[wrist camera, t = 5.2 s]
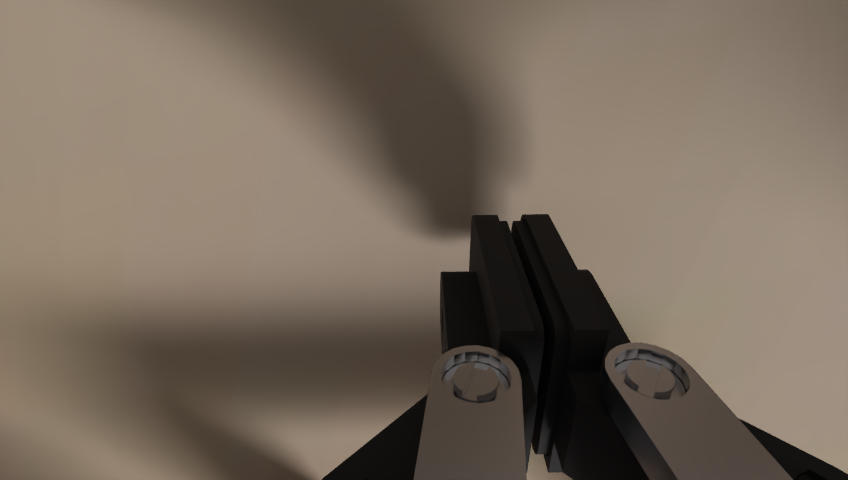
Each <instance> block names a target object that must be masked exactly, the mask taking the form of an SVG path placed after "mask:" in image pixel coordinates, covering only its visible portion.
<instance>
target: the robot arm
mask: <svg viewBox="0 0 848 480" xmlns="http://www.w3.org/2000/svg"><path fill="white" fill-rule="evenodd" d="M440 322H441V343H442V355H441V357H440V358H439V359H438V360H437V361H436V362H435V364H434V367H433V369H432V372H431V378H430V384H429V390H428V394H427V395H426V396H425V397H424V398H422V399H421V400H420V401H419V402H417V403H416V404H415V405H414V406H412V407H411V408H410V409H409V410H407V411H406V412H405V413H404V414H402V415H401V416H400V417H399V418H397V419H396V420H395V421H394V422H392V423H391V424H390V425H389V426H387V427H386V428H385V429H384V430H382V431H381V432H380V433H379V434H377V435H376V436H375V437H374V438H372V439H371V440H370V441H369V442H368V443H366V444H365V445H364V446H363V447H361V448H360V449H359V450H358V451H356V452H355V453H354V454H353V455H351V456H350V457H349V458H348V459H346V460H345V461H344V462H343V463H341V464H340V465H339V466H338V467H336V468H335V469H334V470H333V471H331V472H330V473H329V474H328V475H326V476H325V477H324V478H323V479H322V480H527V477H526V473H527V468H528V462H529V455H530V448H531V442H532V447H533V450H534V452H535V454H544V458H545V461H546V465H547V469H548V472H564V473H565V474H566V475H568V476H569V477H571V478H572V479H573V480H848V474H846V473H844V472H843V471H841V470H839V469H838V468H836V467H834V466H832V465H830V464H828V463H826V462H824V461H822V460H820V459H818V458H816V457H814V456H812V455H810V454H808V453H806V452H804V451H802V450H800V449H798V448H796V447H794V446H792V445H790V444H788V443H786V442H784V441H782V440H780V439H778V438H776V437H775V436H773V435H771V434H769V433H767V432H765V431H763V430H761V429H759V428H757V427H755V426H753V425H751V424H749V423H747V422H745V421H743V420H741V419H739V418H737V417H736V415H735V414H734V413H733V412H732V411H731V410H730V409H729V408H728V406H727V405H726V404H725V403H724V402H723V401H722V400H721V399H720V398H719V396H718V395H717V394H716V393H715V392H714V391H713V390H712V389H711V388H710V386H709V385H708V384H707V383H706V382H705V381H704V380H703V379H702V378H701V376H700V375H699V374H698V373H697V372H696V371H695V370H694V369H693V368H692V367H691V366H690V365H689V364H688V363H687V362H686V361H685V360H683V359H682V358H681V357H679V356H678V355H676V354H674V353H672V352H671V351H669V350H666V349H664V348H661V347H658V346H655V345H651V344H645V343H631V342H630V340H629V339H628V337H627V335H626V333H625V332H624V330H623V328H622V326H621V325H620V323H619V321H618V319H617V318H616V316H615V314H614V312H613V311H612V309H611V307H610V305H609V304H608V302H607V300H606V298H605V297H604V295H603V293H602V291H601V290H600V288H599V286H598V284H597V283H596V281H595V279H594V277H593V275H592V274H591V273H590V272H589V271H588V270H578V269H577V267H576V265H575V263H574V262H573V260H572V258H571V256H570V254H569V252H568V250H567V248H566V247H565V245H564V243H563V241H562V239H561V237H560V235H559V233H558V231H557V230H556V228H555V226H554V224H553V222H552V220H551V218H550V216H549V215H548V214H534V215H522V217H521V221H513V224H512V230H511V231H510V228H509V226H508V223H507V221H499V218H498V216H497V215H473V216H472V221H471V242H470V264H469V272H441V280H440Z"/></svg>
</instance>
